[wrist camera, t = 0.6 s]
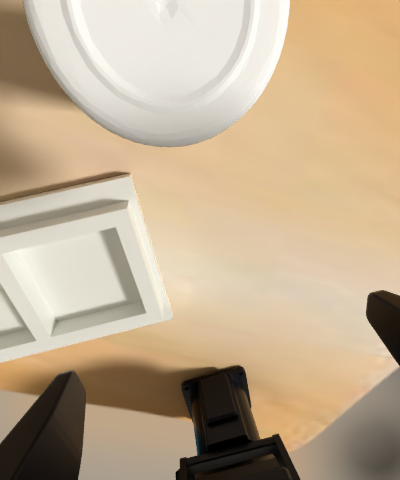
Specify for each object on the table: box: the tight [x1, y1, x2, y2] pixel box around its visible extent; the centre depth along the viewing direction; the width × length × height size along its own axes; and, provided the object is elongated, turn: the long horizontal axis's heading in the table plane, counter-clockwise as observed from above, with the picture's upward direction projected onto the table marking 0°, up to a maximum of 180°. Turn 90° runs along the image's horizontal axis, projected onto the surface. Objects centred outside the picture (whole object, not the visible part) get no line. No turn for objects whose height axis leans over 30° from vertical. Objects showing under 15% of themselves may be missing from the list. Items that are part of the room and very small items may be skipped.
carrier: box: [0, 173, 173, 363], centre depth 20 cm, size 12×18×3 cm, turn 101°
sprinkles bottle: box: [22, 0, 290, 147], centre depth 10 cm, size 5×5×14 cm
